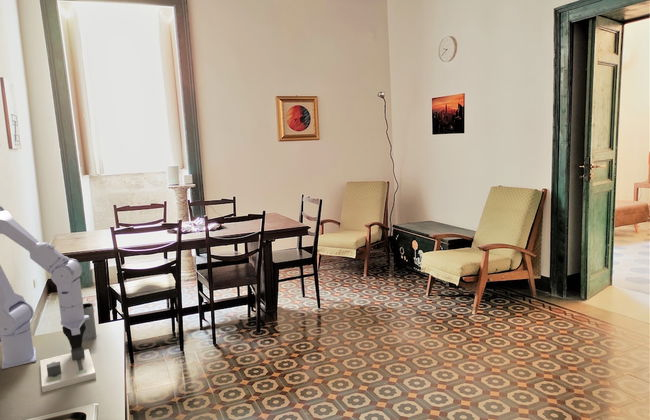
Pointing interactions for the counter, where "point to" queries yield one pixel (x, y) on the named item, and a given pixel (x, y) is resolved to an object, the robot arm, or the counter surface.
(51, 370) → the block
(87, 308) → the planter
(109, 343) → the counter surface
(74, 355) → the block
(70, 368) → the panel
